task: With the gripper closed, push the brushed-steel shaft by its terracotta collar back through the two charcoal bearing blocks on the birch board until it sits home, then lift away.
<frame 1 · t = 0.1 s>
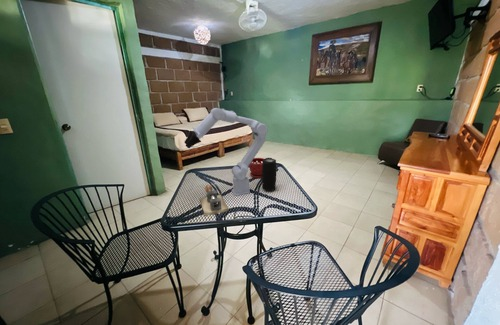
hand: (186, 145, 103), 32 cm above the table, tool tilted 50°, fingers open, 7 cm apart
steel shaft: (211, 194, 110), point 5 cm above the table, slide at 5.0 cm
plant pot: (258, 176, 147), on the table
bearing board: (213, 205, 108), on the table
portable speaker: (268, 189, 126), on the table
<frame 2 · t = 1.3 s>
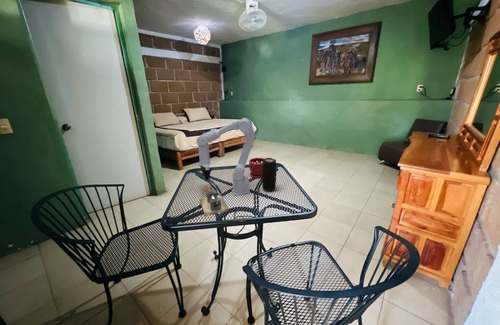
hand: (206, 177, 121), 9 cm above the table, tool pointing down, fingers open, 7 cm apart
nothing on the table moved.
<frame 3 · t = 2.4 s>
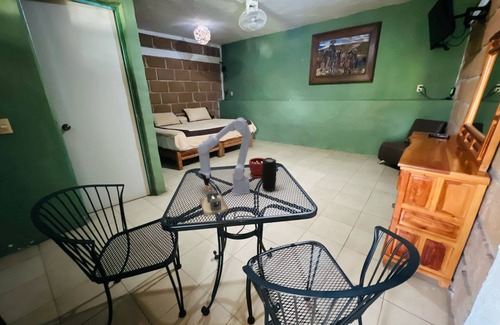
hand: (206, 184, 122), 5 cm above the table, tool pointing down, fingers closed
nothing on the table moved.
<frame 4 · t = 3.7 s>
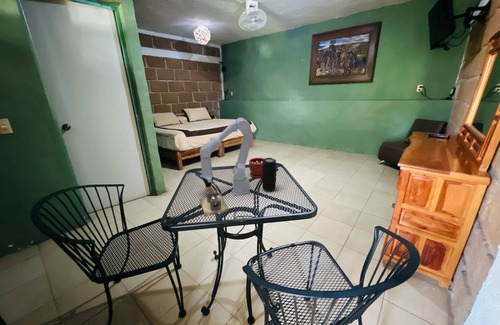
hand: (208, 189, 118), 4 cm above the table, tool pointing down, fingers closed
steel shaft: (212, 196, 109), point 5 cm above the table, slide at 3.7 cm, touching gripper
everything else where it was.
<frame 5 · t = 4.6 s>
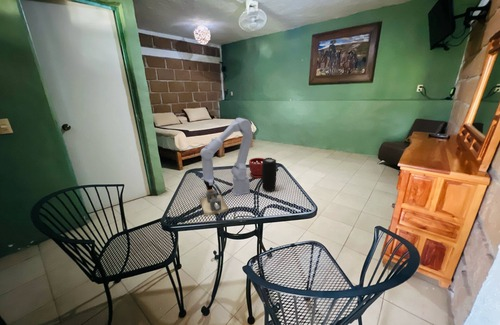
hand: (209, 192, 115), 4 cm above the table, tool pointing down, fingers closed
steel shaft: (213, 199, 106), point 4 cm above the table, slide at -0.1 cm, touching gripper
everything else where it was.
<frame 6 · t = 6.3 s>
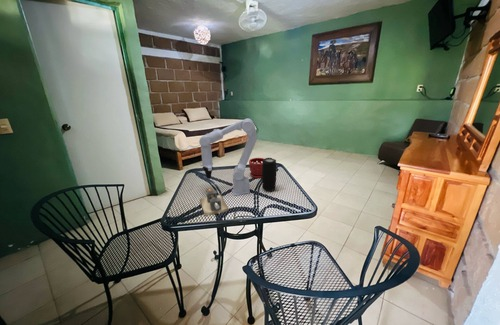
hand: (208, 178, 120), 9 cm above the table, tool pointing down, fingers closed
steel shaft: (213, 199, 106), point 5 cm above the table, slide at 0.0 cm
everything else where it was.
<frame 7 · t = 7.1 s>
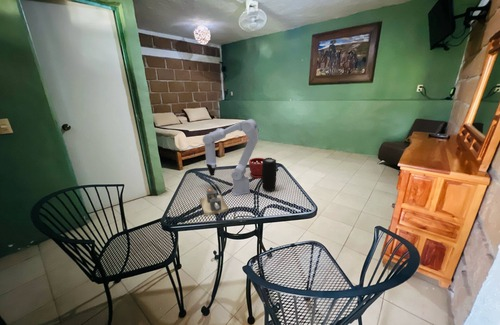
hand: (212, 175, 124), 9 cm above the table, tool pointing down, fingers closed
nothing on the table moved.
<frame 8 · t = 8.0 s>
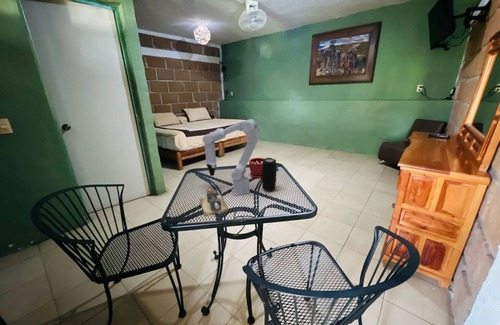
hand: (212, 175, 124), 9 cm above the table, tool pointing down, fingers closed
nothing on the table moved.
at the end: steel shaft slide at 0.0 cm; the gripper is holding nothing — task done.
